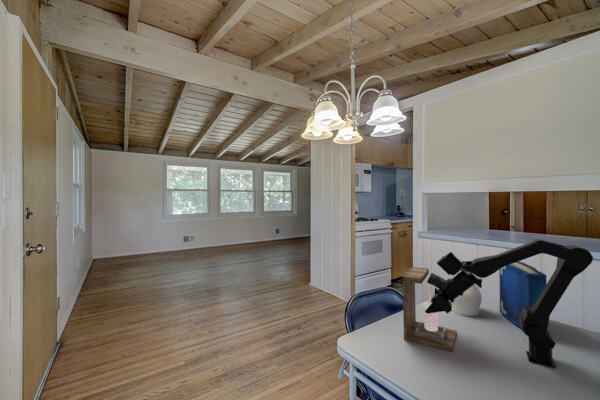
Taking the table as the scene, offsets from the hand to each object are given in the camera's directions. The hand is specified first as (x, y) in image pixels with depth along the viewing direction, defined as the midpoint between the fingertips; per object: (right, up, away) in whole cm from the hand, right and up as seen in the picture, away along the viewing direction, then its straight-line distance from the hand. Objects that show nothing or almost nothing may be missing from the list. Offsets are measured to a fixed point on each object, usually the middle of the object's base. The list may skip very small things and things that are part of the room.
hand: (426, 309), depth 104 cm
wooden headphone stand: (+1, -10, -1) cm, 10 cm away
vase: (+28, -10, +22) cm, 37 cm away
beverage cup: (+1, -7, -1) cm, 7 cm away
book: (+43, -10, +7) cm, 45 cm away
